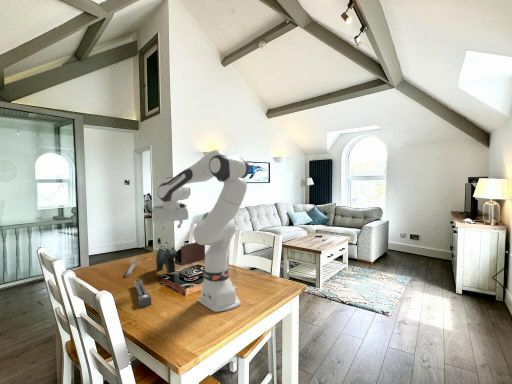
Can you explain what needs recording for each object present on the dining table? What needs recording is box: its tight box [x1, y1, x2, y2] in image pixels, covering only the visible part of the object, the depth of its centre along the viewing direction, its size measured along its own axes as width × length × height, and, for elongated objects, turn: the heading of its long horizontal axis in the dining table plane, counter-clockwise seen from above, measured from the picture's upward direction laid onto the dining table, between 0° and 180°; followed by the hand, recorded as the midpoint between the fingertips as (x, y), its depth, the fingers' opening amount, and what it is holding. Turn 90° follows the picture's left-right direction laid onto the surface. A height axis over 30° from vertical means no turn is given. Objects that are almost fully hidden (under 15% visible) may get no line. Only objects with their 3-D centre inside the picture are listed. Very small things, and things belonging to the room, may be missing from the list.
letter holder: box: [174, 241, 206, 266], centre depth 193 cm, size 10×20×14 cm, turn 136°
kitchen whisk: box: [125, 254, 142, 278], centre depth 175 cm, size 6×34×6 cm, turn 14°
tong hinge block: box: [137, 293, 152, 308], centre depth 125 cm, size 4×5×4 cm
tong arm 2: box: [137, 279, 148, 295], centre depth 138 cm, size 22×1×3 cm, turn 31°
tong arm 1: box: [134, 279, 143, 296], centre depth 136 cm, size 22×1×3 cm, turn 31°
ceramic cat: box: [155, 241, 177, 273], centre depth 168 cm, size 20×6×20 cm, turn 46°
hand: (171, 228), depth 153 cm, fingers open, 8 cm apart
